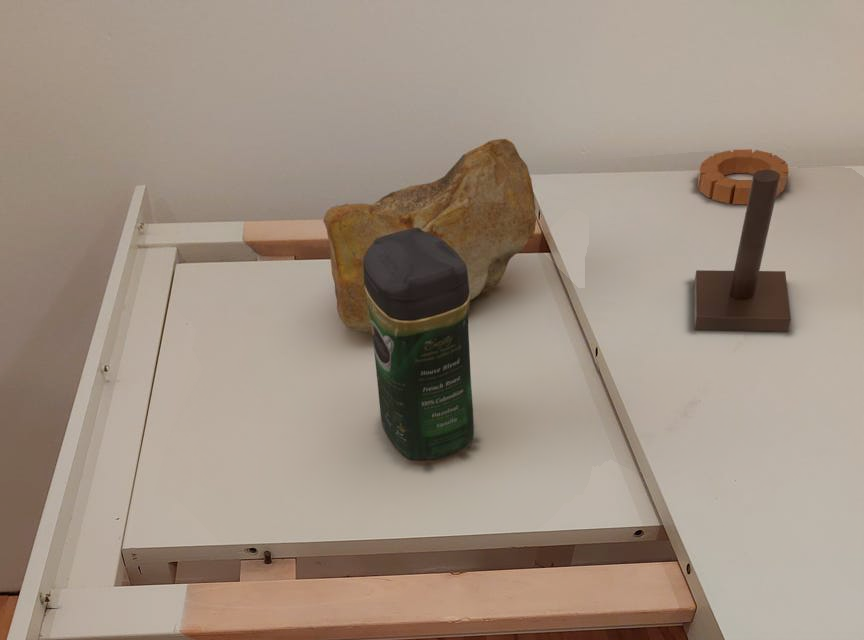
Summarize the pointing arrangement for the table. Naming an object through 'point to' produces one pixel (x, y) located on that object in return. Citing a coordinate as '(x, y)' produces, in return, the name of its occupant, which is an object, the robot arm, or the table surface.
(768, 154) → the ring
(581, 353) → the table surface
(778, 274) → the post stand
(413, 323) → the coffee jar
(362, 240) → the rough brown rock
